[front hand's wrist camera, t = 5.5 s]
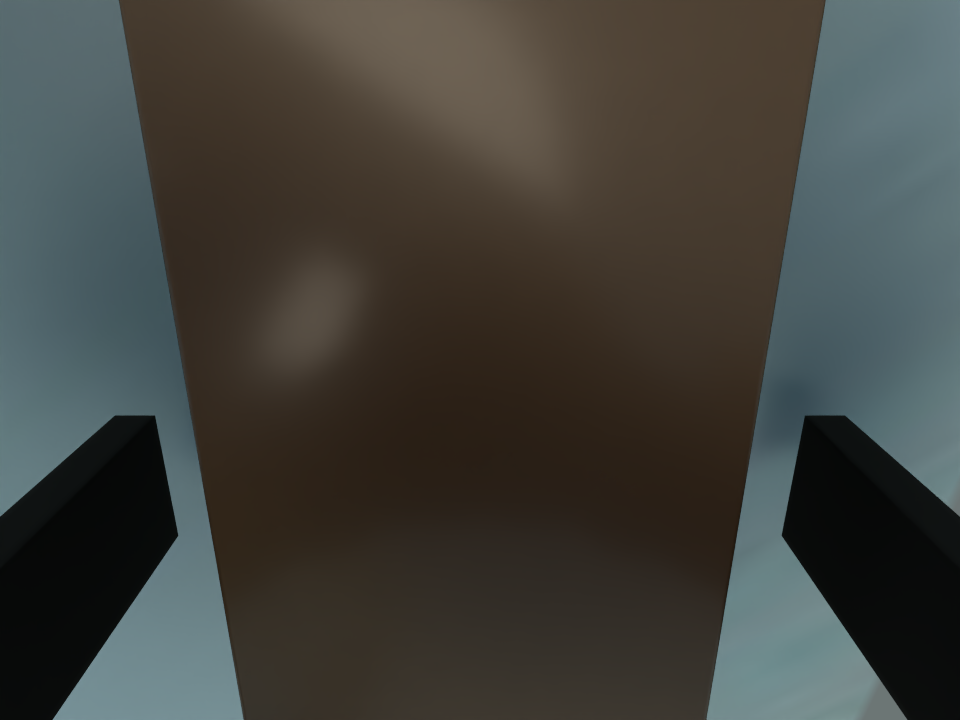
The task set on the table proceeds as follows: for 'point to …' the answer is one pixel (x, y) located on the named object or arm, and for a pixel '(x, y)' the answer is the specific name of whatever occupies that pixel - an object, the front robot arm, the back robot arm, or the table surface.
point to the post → (473, 334)
